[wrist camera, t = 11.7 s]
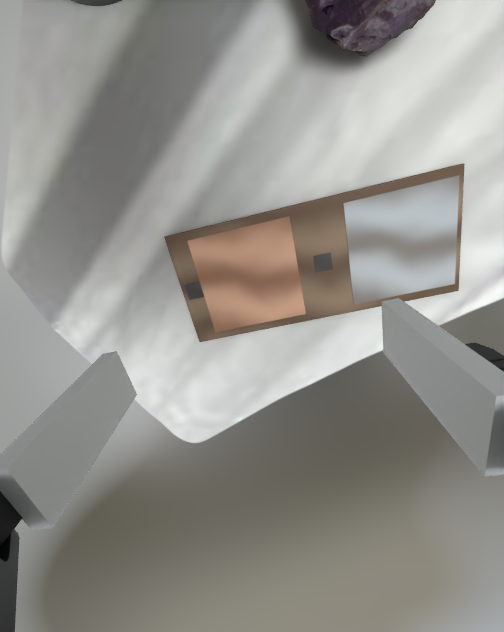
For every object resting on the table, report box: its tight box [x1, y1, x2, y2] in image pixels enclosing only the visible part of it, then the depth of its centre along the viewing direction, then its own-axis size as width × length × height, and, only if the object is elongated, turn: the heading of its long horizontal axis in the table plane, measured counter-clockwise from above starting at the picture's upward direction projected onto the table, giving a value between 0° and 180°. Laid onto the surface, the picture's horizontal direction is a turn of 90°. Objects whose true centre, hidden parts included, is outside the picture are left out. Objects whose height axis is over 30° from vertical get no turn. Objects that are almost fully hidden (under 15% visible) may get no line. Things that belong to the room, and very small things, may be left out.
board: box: [165, 164, 464, 342], centre depth 33 cm, size 14×33×1 cm, turn 103°
